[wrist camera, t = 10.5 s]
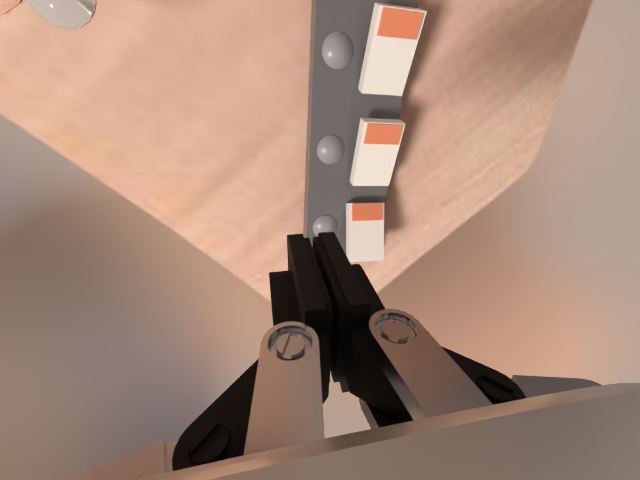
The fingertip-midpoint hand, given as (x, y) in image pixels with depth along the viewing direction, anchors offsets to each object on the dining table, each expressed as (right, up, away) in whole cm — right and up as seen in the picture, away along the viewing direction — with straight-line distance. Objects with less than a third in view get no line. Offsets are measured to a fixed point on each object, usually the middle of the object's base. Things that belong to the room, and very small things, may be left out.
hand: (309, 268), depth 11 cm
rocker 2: (+6, +17, +15) cm, 24 cm away
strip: (+3, +11, +21) cm, 24 cm away
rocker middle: (+6, +10, +19) cm, 22 cm away
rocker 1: (+5, +2, +22) cm, 23 cm away
